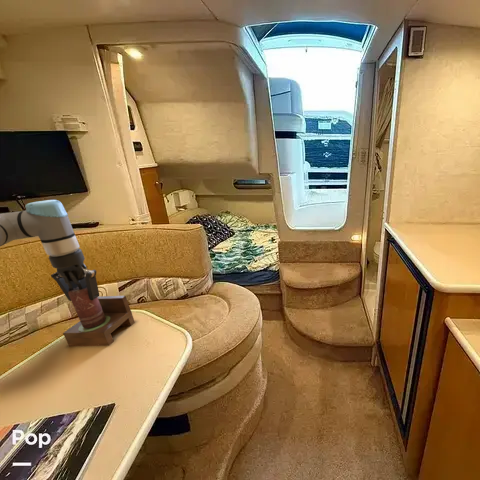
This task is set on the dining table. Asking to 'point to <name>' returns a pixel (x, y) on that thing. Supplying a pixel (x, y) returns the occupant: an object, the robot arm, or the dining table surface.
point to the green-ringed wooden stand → (115, 316)
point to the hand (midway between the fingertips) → (92, 317)
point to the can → (87, 308)
